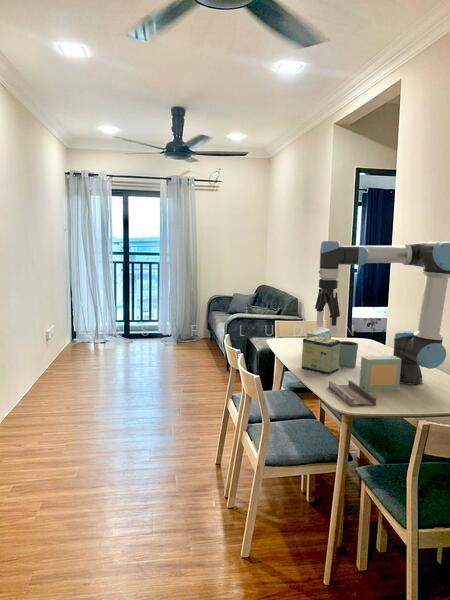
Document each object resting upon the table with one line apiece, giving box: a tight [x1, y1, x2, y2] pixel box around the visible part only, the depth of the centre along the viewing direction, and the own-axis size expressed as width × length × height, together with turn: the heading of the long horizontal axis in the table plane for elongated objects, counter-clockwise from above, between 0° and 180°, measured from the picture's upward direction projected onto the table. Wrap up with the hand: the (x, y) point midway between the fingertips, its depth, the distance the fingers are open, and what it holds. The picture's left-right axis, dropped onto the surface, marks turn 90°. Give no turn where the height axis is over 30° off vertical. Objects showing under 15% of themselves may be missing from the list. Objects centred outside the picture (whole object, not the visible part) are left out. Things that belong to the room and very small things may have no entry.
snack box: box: [306, 327, 332, 339], centre depth 238 cm, size 21×6×15 cm, turn 143°
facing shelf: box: [328, 380, 377, 407], centre depth 179 cm, size 11×22×3 cm, turn 9°
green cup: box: [339, 340, 359, 369], centre depth 223 cm, size 10×10×12 cm
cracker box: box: [358, 355, 401, 392], centre depth 189 cm, size 16×5×14 cm, turn 99°
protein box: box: [301, 336, 341, 376], centre depth 215 cm, size 10×16×16 cm
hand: (325, 329), depth 180 cm, fingers open, 13 cm apart
